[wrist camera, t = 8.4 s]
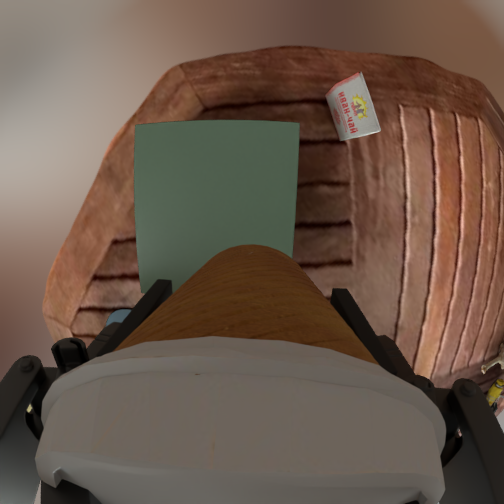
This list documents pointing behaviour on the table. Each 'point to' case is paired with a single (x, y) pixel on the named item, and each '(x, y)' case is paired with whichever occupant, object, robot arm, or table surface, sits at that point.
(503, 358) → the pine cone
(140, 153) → the green lidded box
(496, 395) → the sprinkler
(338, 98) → the white gable carton
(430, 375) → the table surface
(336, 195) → the table surface
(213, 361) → the disposable coffee cup
